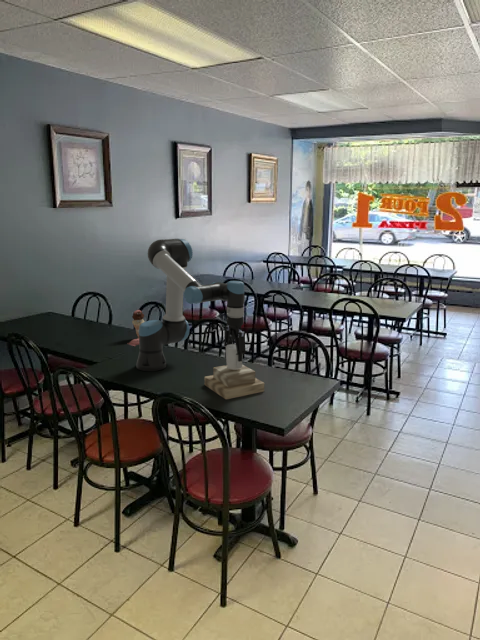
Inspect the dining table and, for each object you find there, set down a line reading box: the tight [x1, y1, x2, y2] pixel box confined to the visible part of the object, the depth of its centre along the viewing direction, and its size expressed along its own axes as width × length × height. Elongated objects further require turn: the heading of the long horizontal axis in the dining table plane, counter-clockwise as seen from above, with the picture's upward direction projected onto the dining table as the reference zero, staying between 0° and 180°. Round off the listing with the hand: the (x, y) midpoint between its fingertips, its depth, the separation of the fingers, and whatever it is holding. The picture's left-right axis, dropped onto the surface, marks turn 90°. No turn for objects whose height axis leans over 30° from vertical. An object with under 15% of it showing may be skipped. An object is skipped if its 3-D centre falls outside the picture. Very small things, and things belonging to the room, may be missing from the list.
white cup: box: [225, 343, 244, 370], centre depth 226 cm, size 8×8×10 cm
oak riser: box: [204, 364, 265, 400], centre depth 229 cm, size 20×20×9 cm
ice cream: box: [128, 309, 146, 347], centre depth 300 cm, size 16×16×18 cm
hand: (234, 365), depth 227 cm, fingers closed on white cup, 8 cm apart
